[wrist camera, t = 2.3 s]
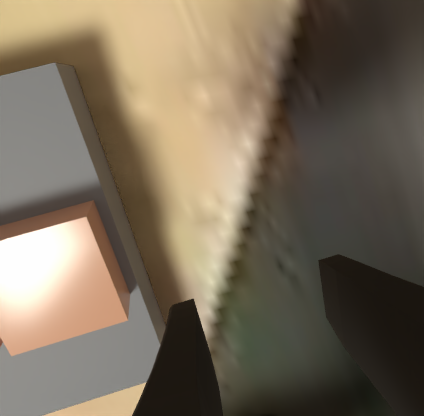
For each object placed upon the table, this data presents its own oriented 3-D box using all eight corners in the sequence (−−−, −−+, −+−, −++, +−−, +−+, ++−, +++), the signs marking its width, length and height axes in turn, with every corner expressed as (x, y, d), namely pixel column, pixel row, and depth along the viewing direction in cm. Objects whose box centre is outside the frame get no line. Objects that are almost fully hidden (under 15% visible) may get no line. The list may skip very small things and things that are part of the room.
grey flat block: (73, 66, 16) (55, 62, 13) (167, 331, 22) (171, 374, 19) (-197, 132, 15) (-289, 146, 12) (-24, 391, 21) (-55, 446, 18)
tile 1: (93, 200, 15) (86, 216, 13) (130, 294, 17) (128, 320, 15) (-24, 232, 15) (-49, 254, 13) (26, 325, 17) (11, 356, 15)
